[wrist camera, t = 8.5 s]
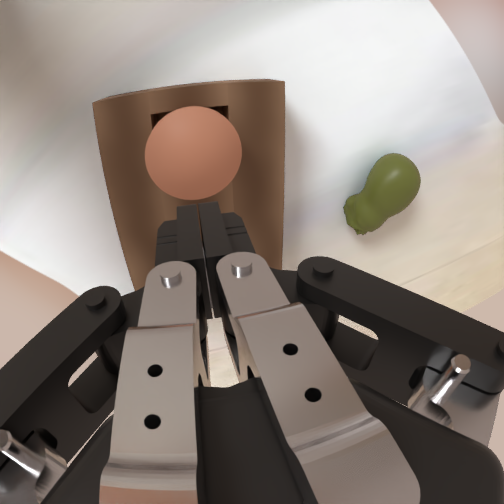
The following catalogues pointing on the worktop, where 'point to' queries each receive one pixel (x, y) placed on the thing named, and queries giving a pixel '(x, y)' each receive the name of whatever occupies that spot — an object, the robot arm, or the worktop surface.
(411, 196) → the pear
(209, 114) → the tan round knob
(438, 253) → the worktop surface
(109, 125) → the brown wooden block
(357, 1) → the worktop surface
